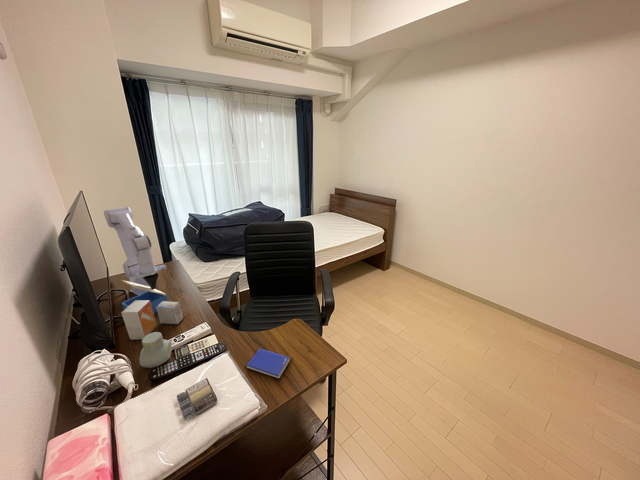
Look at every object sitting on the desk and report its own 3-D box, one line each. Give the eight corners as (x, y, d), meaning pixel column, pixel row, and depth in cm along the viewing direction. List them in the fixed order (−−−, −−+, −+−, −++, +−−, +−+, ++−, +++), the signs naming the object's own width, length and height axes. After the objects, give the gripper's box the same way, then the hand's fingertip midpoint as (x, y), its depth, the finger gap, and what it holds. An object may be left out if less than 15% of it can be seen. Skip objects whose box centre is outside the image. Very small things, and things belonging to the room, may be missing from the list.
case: (138, 322, 109) (134, 311, 107) (124, 313, 114) (121, 303, 112) (168, 305, 120) (166, 295, 118) (155, 298, 126) (152, 288, 123)
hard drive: (289, 356, 89) (259, 347, 93) (278, 375, 82) (246, 364, 86) (290, 360, 90) (260, 351, 94) (278, 379, 83) (247, 368, 87)
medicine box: (183, 318, 111) (179, 301, 108) (177, 324, 107) (173, 308, 104) (167, 317, 112) (162, 300, 109) (160, 323, 108) (155, 307, 105)
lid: (135, 288, 106) (136, 286, 106) (121, 281, 111) (122, 279, 111) (165, 295, 118) (166, 294, 118) (151, 288, 123) (152, 287, 123)
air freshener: (168, 367, 87) (162, 345, 83) (140, 375, 84) (132, 352, 81) (173, 345, 96) (167, 324, 93) (148, 351, 94) (141, 330, 90)
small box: (146, 339, 99) (137, 312, 95) (129, 339, 99) (120, 312, 95) (157, 325, 107) (150, 299, 102) (142, 326, 107) (134, 300, 102)
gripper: (133, 271, 105) (141, 298, 110) (167, 258, 117) (173, 283, 122) (124, 267, 109) (133, 294, 114) (158, 255, 120) (165, 279, 125)
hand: (153, 288), depth 118 cm, fingers closed
